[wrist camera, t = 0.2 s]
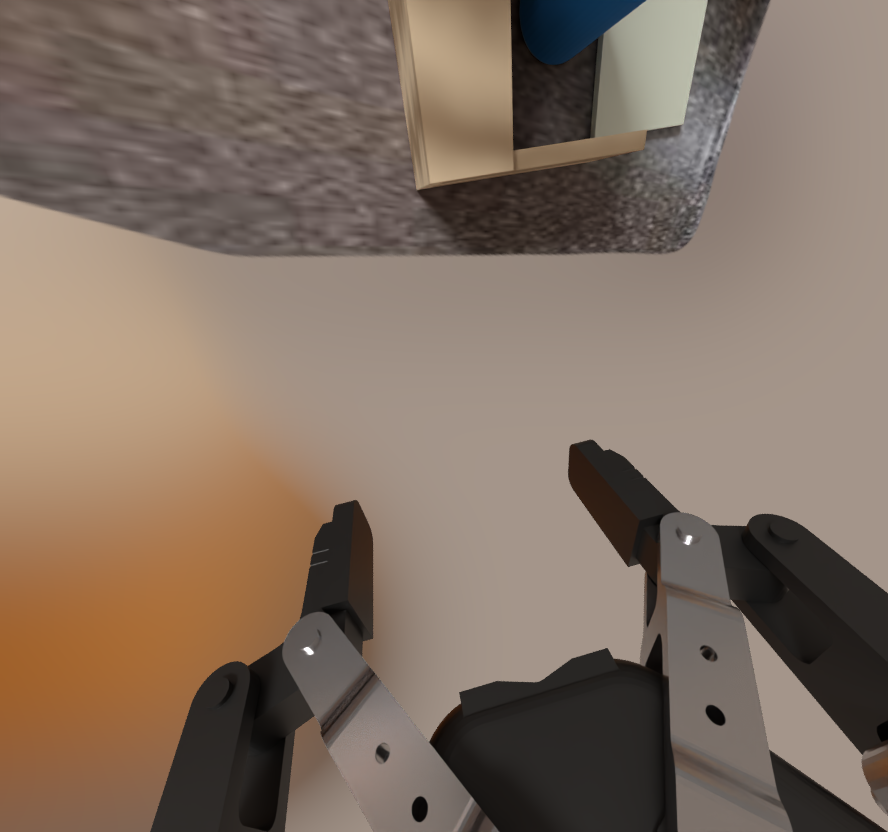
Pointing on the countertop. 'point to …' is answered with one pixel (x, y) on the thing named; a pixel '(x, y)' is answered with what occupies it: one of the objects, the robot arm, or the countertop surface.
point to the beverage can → (568, 25)
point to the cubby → (471, 96)
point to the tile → (646, 67)
